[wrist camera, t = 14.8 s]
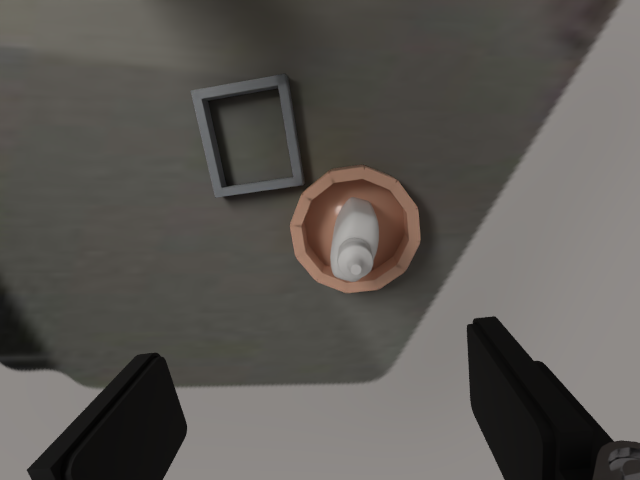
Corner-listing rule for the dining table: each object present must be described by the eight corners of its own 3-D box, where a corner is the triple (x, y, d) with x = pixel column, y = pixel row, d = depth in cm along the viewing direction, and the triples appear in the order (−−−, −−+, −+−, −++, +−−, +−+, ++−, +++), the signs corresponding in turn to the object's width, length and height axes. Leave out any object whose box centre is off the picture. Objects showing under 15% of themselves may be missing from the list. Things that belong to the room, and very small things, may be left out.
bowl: (288, 175, 33) (281, 178, 30) (407, 157, 32) (414, 159, 28) (306, 283, 36) (302, 297, 33) (416, 271, 35) (423, 285, 31)
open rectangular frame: (197, 93, 32) (190, 90, 30) (288, 76, 31) (285, 73, 29) (220, 195, 34) (215, 197, 33) (304, 183, 33) (303, 185, 32)
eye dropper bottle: (389, 221, 33) (413, 263, 21) (348, 260, 34) (348, 319, 22) (357, 189, 32) (364, 214, 20) (316, 230, 33) (300, 275, 22)
